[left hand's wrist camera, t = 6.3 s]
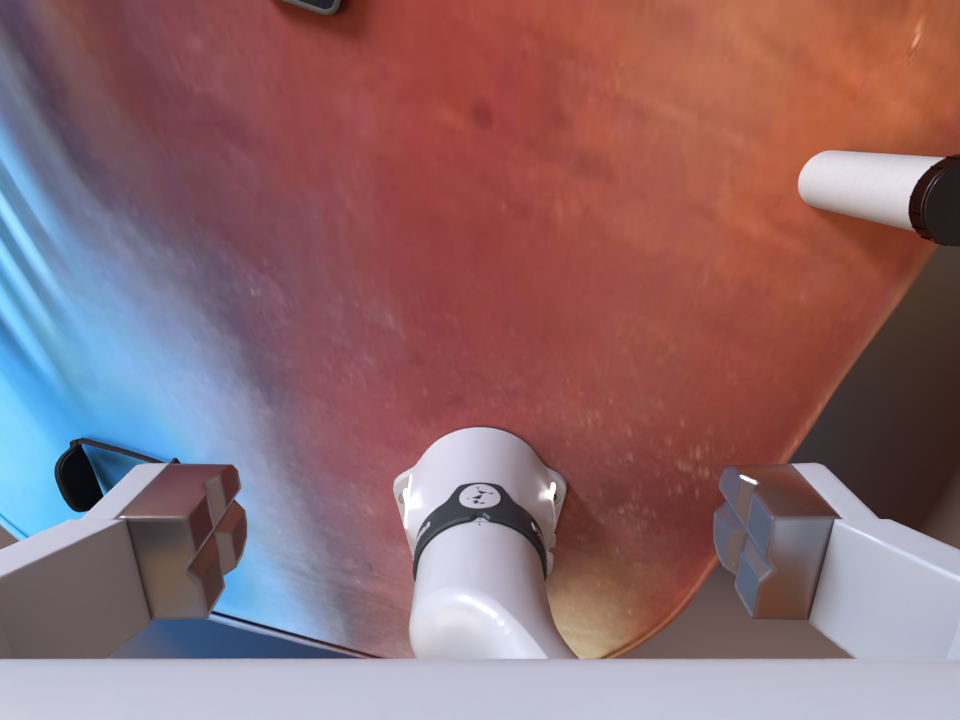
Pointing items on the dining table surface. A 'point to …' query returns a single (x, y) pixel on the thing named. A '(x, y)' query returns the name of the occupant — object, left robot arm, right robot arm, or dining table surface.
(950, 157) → the lid
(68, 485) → the sunglasses
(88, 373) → the dining table surface
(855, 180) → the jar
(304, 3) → the smartphone
